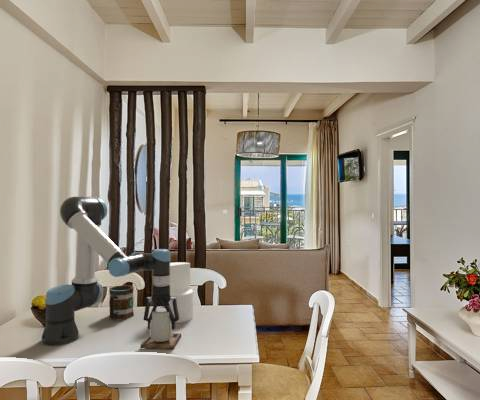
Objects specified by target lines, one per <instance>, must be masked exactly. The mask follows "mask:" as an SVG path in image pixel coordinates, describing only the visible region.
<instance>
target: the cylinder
mask: <svg viewBox="0 0 480 400" xmlns="http://www.w3.org/2000/svg"><path fill="white" fill-rule="evenodd" d="M169 285H170V296H171V297H173V298H175V297H177V307H178V313H179V320H178V321H175V324H176V323H184V322H188V321H191V320H192V319H193V318H194V290H193V289H192V288H191V262H185V261H183V262H182V261H181V262H180V261H178V262H177V261H176V262H170V284H169ZM169 305H170V308H171V310H172V313H173V315H174V310H173V303H172V301H171V300H170V301H169ZM159 307H160V308H165V307H163V306H159ZM174 317H175V315H174Z"/></svg>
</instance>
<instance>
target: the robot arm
mask: <svg viewBox="0 0 480 400" xmlns="http://www.w3.org/2000/svg"><path fill="white" fill-rule="evenodd" d="M59 214H60V215H59V216H60V218H61V220H62V222H63V223H64V224H65V225H66V226H67V227H68V228H69V229H72V230H73V229H74V231H75V232H77V234H78V235H77V245H76V246H77V250H76V262H75V264H76V265H75V277H74V278H73V279H71V284H62V285H57V286H54V287H52V288H49V289H48V290H47V291H46V293H45V300H44V301H45V302H44V303H45V325H44V329H43V332H42V334H41V338H40V339H41V340H40V341H41V344H42V345H44V346H49V347H50V346H61V345H62V346H63V345H66V344H70V343H73V342H74V341H75V342H76V340H78V339H79V336H80V332H79V329H78V326H77V322H76V319H75V312H77V311H81V310H83V309H86V308H90V307H92V306H94V305H96V304H97V303H99V301H100V300H101V298H102V295H103V294H102V293H103V288H102V286H101V284H100V283H99V282H98V281H99V280H98V279H97V278H96V275H95V274H96V273H95V272H96V260H97V259H96V258H97V254H98V255H99V256H100V257H101V258H102V259H103V260H104V261H105V262H106V263H107V264H108V265H107V270H108V272H109V274H110V275H111V276H112V277H117V278H119V277H125V276H127V275H129V274H133V273H134V274H135V273H137V272H141V271H152V296H147V297H146V298H145V307H144V314H143V321H145V322H147V329H148V330H149V334H150V337H152V312H154V311H155V310H156V309H158V307H160V306H163V307H165V309H166V310H167V312H169V317H170V320H171V322H170V338H172V336H173V333H174V330H175V329H176V323H175V321H178V320H179V313H178V307H177V297H175V298H173V297H171V296H170V285H169V284H170V263H171V253H170V250H169V249H167V248H158V249H153V250H152V252H151V253H150V252H149V253H146V252H141V251H140V252H131V254H130V255H127V254H126V253H124V252H123V251H122V249H120V248H119V246H118V245H116V244H115V243H114V242H113V241H112V240H111V238H109V237H108V236H107V235H106V234H105V233H104V232H103V231H102V230H101V229H100V227H101V226H102V221H103V220H104V219H105V218H106V216H107V215H108V206H107V204H106V203H105V201H104V200H103V199H102V198H100V197H98V196H97V197H96V196H71V197H68V198H67V199H65V200H64V201H63V202H62V204H61V205H60V209H59ZM170 300H171V301H172V303H173V310H174V315H175V317H174V315H173V313H172V310H171V308H170V305H169V301H170ZM151 302H153V303H154V304H153V306H152V308H151ZM150 308H151V311H150ZM149 313H150V314H149Z"/></svg>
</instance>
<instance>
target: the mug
mask: <svg viewBox="0 0 480 400" xmlns="http://www.w3.org/2000/svg"><path fill="white" fill-rule="evenodd" d="M134 289H135V287H134V285H127V284H125V285H115V286H111V287H109V290H108V291H109V301H108V303H109V304H108V305H109V319H113V320H117V321H118V320H124V319H125V320H126V319H129V318H132V317H134V316H135V315H134V314H135V312H134V304H135V303H134Z"/></svg>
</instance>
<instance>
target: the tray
mask: <svg viewBox="0 0 480 400" xmlns="http://www.w3.org/2000/svg"><path fill="white" fill-rule="evenodd" d="M181 338H182V333H181V332H179V333H178V332H173V336H172V338H171V339H169V340H167V341H163V342H156V341H153V340H152V337H150V333H149V334H148V336H147V337H146V338H145V339H144V340H143V341H142V342H141V343H140V349H141V348H145V349H144V350H170V351H171V350H172V351H173V350H174V349H175V348H176V346H177V345H178V343H179V342H180V340H181Z"/></svg>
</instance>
